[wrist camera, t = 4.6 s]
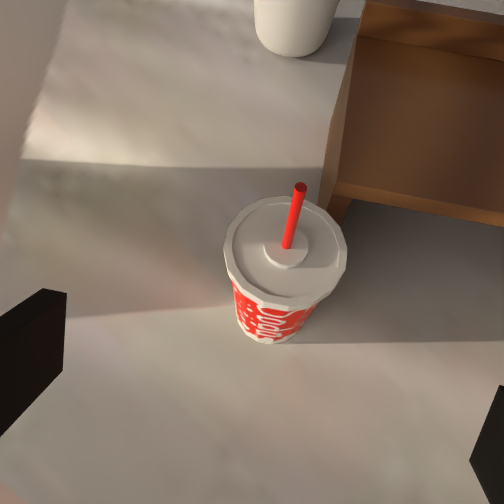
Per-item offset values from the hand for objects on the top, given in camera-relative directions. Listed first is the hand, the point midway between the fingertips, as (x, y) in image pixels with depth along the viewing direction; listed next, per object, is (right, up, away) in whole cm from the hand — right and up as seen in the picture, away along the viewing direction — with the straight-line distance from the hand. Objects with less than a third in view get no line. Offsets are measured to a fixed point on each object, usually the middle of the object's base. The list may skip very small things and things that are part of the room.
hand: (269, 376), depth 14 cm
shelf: (+13, +7, +21) cm, 26 cm away
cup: (+4, +24, +30) cm, 39 cm away
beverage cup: (+1, 0, +17) cm, 17 cm away
